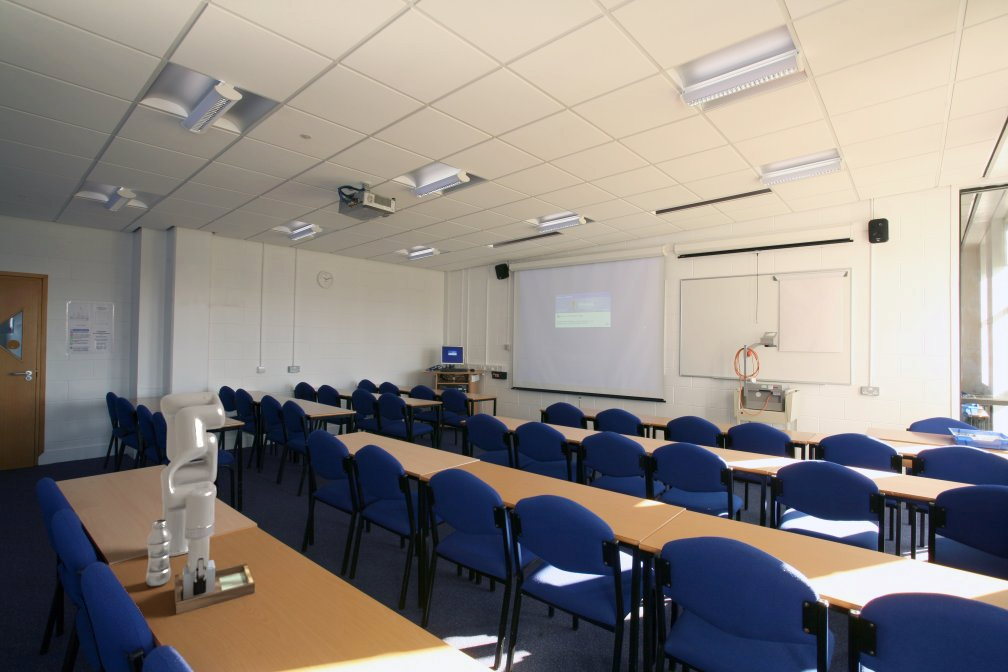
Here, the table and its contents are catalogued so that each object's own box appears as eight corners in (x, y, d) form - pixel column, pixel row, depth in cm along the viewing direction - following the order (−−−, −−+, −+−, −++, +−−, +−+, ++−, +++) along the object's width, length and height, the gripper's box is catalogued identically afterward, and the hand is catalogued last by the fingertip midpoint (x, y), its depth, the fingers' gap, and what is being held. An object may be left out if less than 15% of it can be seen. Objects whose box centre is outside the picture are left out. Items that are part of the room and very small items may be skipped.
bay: (174, 589, 147) (174, 573, 147) (246, 571, 159) (246, 556, 159) (176, 614, 135) (176, 597, 135) (254, 592, 147) (254, 576, 147)
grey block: (182, 591, 145) (182, 565, 144) (212, 583, 149) (213, 559, 149) (183, 600, 140) (183, 574, 140) (214, 591, 144) (215, 566, 144)
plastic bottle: (157, 590, 147) (159, 526, 147) (139, 587, 148) (141, 524, 148) (176, 579, 153) (177, 518, 153) (158, 577, 154) (160, 516, 154)
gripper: (183, 523, 149) (182, 580, 149) (186, 543, 135) (185, 606, 135) (211, 518, 154) (210, 573, 154) (217, 537, 140) (215, 598, 140)
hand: (198, 588), depth 144 cm, fingers closed on grey block, 6 cm apart
